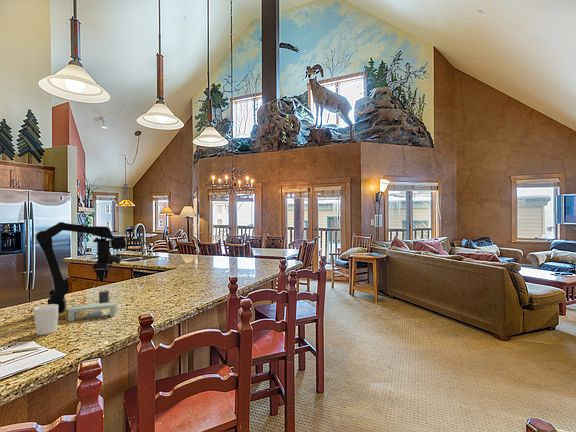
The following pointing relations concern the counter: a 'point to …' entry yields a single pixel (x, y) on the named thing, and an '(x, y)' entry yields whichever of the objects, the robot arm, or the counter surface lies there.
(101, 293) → the grey hammer
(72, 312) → the bracket
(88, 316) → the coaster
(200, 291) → the counter surface
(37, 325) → the white cup
